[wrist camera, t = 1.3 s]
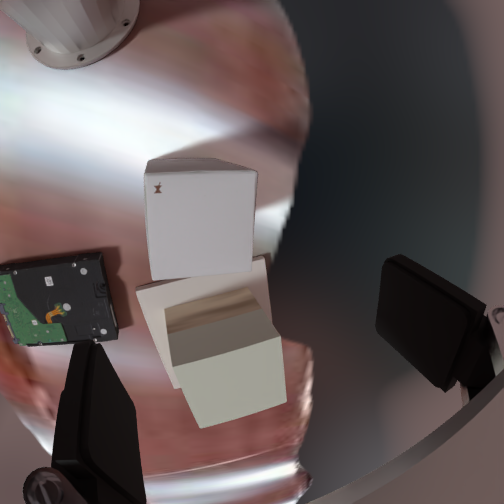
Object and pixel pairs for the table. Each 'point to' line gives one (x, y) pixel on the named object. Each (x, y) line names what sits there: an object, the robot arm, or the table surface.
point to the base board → (195, 289)
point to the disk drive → (58, 301)
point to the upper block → (229, 367)
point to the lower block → (210, 310)
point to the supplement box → (199, 217)
